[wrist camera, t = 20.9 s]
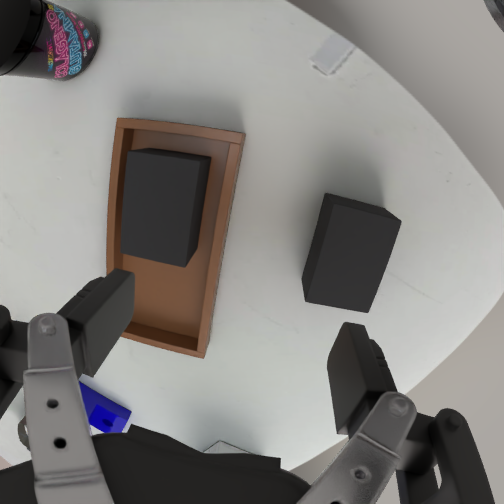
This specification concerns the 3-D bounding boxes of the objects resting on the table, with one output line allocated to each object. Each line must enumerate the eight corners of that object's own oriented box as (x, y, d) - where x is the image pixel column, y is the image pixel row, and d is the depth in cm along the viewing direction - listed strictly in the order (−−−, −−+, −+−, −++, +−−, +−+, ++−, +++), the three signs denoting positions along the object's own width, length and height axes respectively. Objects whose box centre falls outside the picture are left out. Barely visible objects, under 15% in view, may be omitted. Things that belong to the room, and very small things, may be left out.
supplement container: (64, 96, 23) (-15, 93, 13) (39, 55, 21) (-33, 44, 11) (114, 45, 21) (42, 16, 11) (84, 7, 19) (18, -24, 9)
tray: (130, 118, 23) (116, 117, 21) (245, 133, 23) (242, 133, 21) (118, 320, 31) (109, 333, 29) (208, 343, 31) (203, 359, 29)
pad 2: (324, 192, 25) (333, 203, 21) (385, 208, 25) (402, 221, 21) (301, 279, 28) (304, 302, 24) (357, 290, 28) (368, 313, 24)
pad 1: (148, 147, 24) (127, 150, 20) (212, 156, 24) (200, 161, 20) (139, 236, 27) (119, 253, 23) (197, 249, 27) (185, 268, 23)
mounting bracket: (131, 411, 37) (117, 443, 31) (121, 431, 39) (108, 459, 34) (28, 345, 35) (6, 369, 29) (27, 371, 37) (9, 394, 32)
